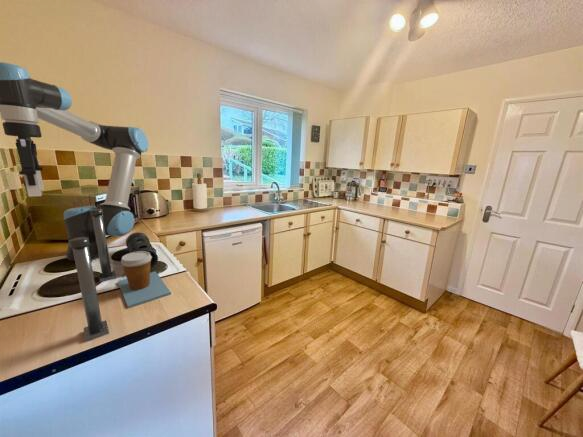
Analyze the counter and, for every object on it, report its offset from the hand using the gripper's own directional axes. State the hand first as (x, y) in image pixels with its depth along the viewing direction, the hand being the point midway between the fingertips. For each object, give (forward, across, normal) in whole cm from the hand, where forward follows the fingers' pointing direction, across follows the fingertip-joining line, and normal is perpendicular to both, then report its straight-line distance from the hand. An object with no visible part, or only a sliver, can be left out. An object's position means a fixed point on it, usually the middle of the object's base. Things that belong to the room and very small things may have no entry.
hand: (37, 193), depth 76 cm
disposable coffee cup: (+34, +17, +22) cm, 44 cm away
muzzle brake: (+35, -9, +28) cm, 46 cm away
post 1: (+35, +35, +8) cm, 50 cm away
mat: (+35, +18, +23) cm, 45 cm away
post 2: (+35, +1, +14) cm, 37 cm away
